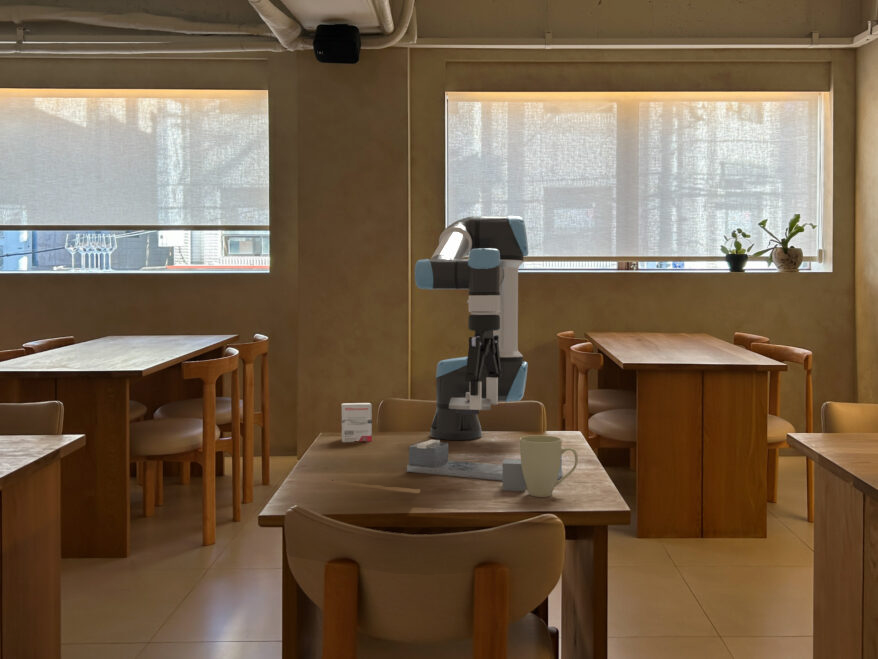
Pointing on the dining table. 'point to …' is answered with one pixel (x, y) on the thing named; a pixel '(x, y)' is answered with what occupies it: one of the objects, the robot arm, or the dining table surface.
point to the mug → (542, 463)
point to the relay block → (512, 475)
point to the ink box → (356, 422)
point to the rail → (451, 463)
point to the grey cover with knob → (467, 405)
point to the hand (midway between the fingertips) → (483, 406)
